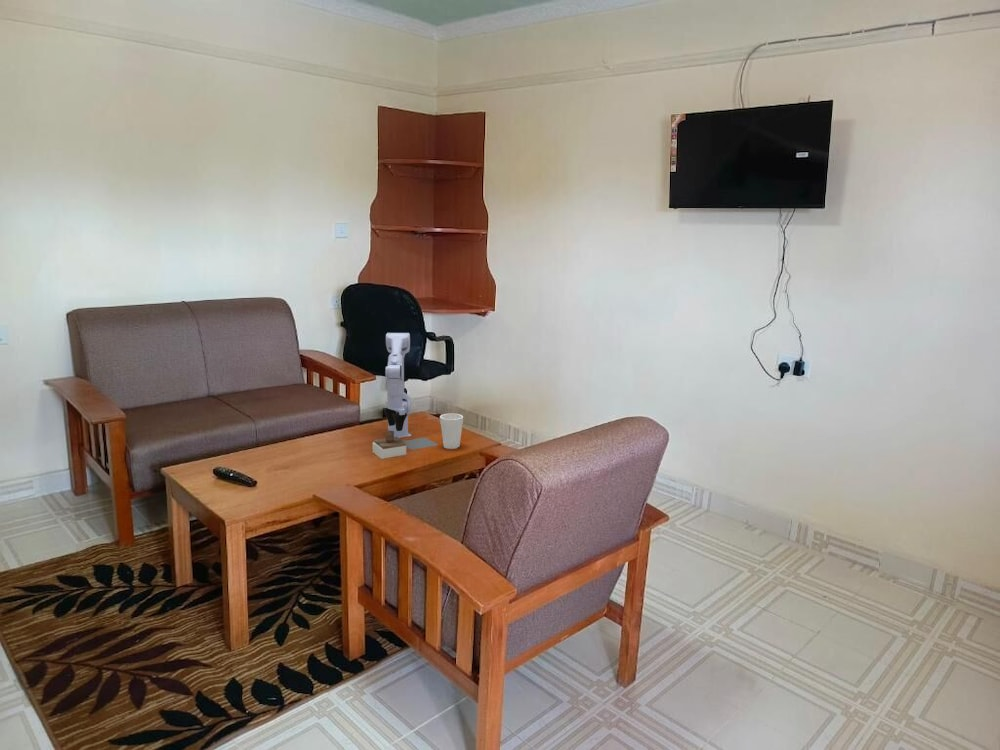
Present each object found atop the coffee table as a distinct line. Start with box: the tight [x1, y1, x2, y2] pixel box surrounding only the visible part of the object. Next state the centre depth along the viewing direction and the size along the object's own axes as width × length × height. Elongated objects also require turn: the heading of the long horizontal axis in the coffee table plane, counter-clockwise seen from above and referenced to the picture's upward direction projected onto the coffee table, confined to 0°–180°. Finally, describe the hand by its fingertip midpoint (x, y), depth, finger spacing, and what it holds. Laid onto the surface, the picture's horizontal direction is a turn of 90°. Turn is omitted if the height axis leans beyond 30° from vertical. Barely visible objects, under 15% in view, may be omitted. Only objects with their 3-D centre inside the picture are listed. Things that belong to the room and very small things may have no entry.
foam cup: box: [439, 413, 464, 450], centre depth 285 cm, size 10×9×13 cm
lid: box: [374, 430, 406, 449], centre depth 277 cm, size 10×10×5 cm
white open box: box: [372, 441, 407, 460], centre depth 277 cm, size 10×10×4 cm
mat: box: [403, 437, 438, 451], centre depth 290 cm, size 12×12×1 cm
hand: (395, 428), depth 278 cm, fingers open, 7 cm apart
